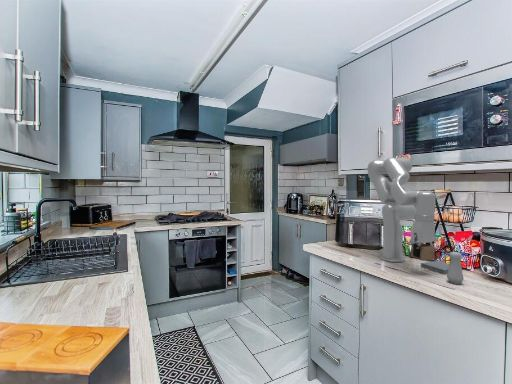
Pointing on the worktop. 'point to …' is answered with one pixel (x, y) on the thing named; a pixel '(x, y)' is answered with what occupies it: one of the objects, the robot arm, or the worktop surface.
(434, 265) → the slab
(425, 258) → the walnut block
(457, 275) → the salt shaker
